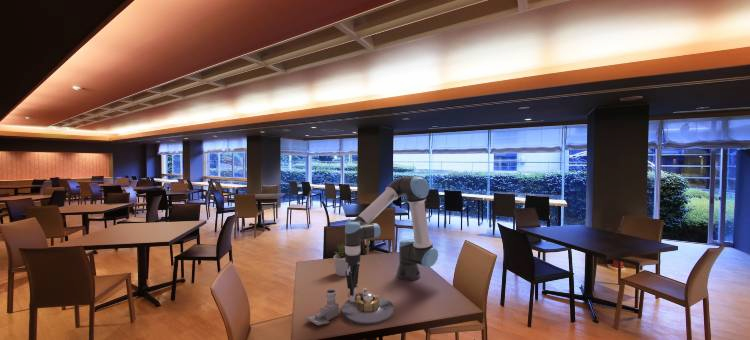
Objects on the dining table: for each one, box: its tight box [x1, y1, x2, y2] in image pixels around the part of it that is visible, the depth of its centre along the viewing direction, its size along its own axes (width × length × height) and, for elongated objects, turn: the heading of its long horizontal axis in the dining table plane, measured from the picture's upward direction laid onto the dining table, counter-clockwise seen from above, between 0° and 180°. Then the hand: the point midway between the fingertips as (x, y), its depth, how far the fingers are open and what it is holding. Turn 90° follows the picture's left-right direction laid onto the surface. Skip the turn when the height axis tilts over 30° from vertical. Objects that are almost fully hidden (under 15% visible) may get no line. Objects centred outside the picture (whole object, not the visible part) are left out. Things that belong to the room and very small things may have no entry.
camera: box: [304, 288, 340, 326], centre depth 132 cm, size 9×12×15 cm
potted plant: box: [332, 244, 348, 277], centre depth 189 cm, size 13×14×20 cm
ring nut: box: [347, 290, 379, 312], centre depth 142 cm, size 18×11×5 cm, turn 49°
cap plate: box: [341, 287, 395, 326], centre depth 140 cm, size 25×25×8 cm
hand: (352, 300), depth 143 cm, fingers closed
